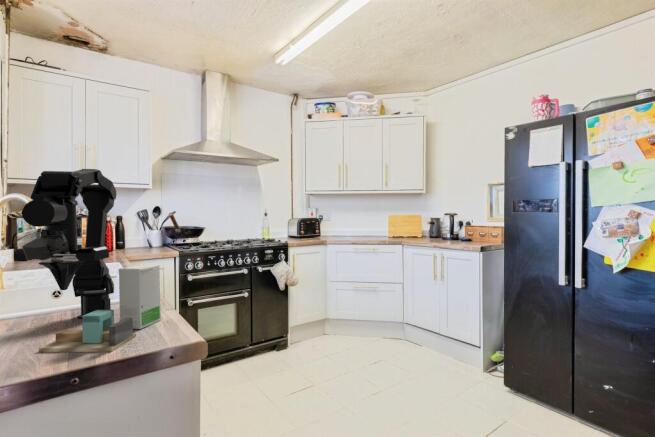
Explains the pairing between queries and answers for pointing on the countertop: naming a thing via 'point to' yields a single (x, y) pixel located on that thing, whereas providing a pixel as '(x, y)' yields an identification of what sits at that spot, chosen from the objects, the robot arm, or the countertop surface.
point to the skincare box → (140, 294)
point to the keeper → (96, 325)
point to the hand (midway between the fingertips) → (63, 289)
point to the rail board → (74, 343)
